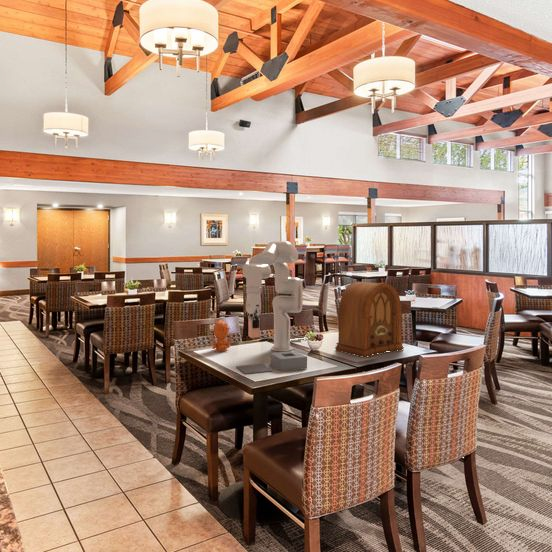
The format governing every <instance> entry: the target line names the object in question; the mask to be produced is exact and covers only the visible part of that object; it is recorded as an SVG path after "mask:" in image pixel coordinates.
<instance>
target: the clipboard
mask: <svg viewBox="0 0 552 552" xmlns="http://www.w3.org/2000/svg"><path fill="white" fill-rule="evenodd" d="M304 337H305V336H301V335H298V334H292V333H290V339H295V338H304ZM263 338H264V339H268V340H271V339H272V341H274V336H271V337H267V336H264V337H263ZM301 340H304V339H298V340H291V341H290V342H292V343H302V342H301Z"/></svg>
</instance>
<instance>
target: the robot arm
mask: <svg viewBox="0 0 552 552" xmlns="http://www.w3.org/2000/svg"><path fill="white" fill-rule="evenodd" d="M298 259H299V252H298V249H297V248H296V247H295V246H294V245H293V244H292V243H291V242H290V241H286V240H285V241H283V240H281V241H276V240H275V241H270V242H269V243H267V245H266V246H265V248H264V249H263V251H261V252H259V253H258V254H255V255H253V256H251V257H249V258H248V259H247V260H246V261H245V263H244V264H243V266H242V276H243V277H244V278H245V279H246V280H245V281H246V282H245V283H246V290H245V291H246V300H245V311H246V312H247V313H248V316H253V328H259V317H260V318H261V313H262V297H261V296H262V295H261V294H262V293H263V286H262V285H263V284H262V283H263V281H262V280H267V279H268V278H270V276H271V274H272V268H271V266H273V268H274V287H275V288H274V289H275V290H274V291H275V292H276V293H278V294H289V295H277V296H275V297H273V299H272V301H271V302H272V309H273V333H274V340H273V346H271V347H270V348H271V350H272V351H275V352H289V351H294V347H293V346H291V343H290V334H291V318H290V316H289V315H288V313H294V314H296V313H297V314H298V313H300V312H301V311H302V310H303V301H304V300H303V299H304V297H303V295H304V294H303V281H302V279H301V278H299V277H291V276H290V273H291V272H290V267H289V265H288V264H295V263H297V261H298Z"/></svg>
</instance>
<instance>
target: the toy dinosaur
mask: <svg viewBox="0 0 552 552" xmlns="http://www.w3.org/2000/svg"><path fill="white" fill-rule="evenodd" d="M218 320H219V321H215V322H214V325H213V335H212V337H211V338H212V339H211V342H212V350H214V351H216V350H217V351H216V352H218V351H224V352H227V350H228V349H230V347H231V344H230V342H231V339H232V334H229V332H230V329H231V328H230V325H228V322H227V321H223V320H222V319H218ZM228 336H229V337H228ZM215 337H216V338H217V340H215ZM227 337H228V338H227ZM226 338H227V340H226Z"/></svg>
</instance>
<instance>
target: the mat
mask: <svg viewBox="0 0 552 552" xmlns="http://www.w3.org/2000/svg"><path fill="white" fill-rule="evenodd" d="M236 367H237V368H236V369H237V370H239V371H240V372H241V373H242V372H243V375H251V374H252V375H253V374H261V373H263V374H265V373H271V372H273V369H271V368H270V367H268V366H266V365H265V364H264V363H256V364H247V365H245V364H244V365H236Z"/></svg>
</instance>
